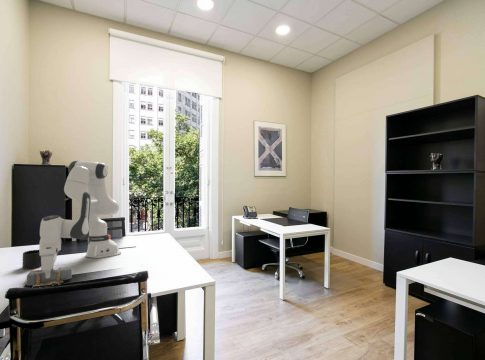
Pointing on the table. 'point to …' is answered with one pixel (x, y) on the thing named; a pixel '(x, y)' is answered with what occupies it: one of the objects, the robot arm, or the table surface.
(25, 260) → the mug
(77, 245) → the table surface
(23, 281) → the table surface
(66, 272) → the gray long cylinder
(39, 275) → the peg rack
